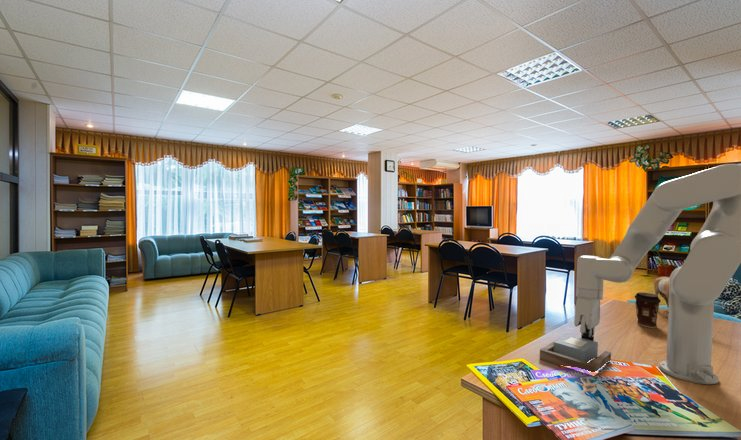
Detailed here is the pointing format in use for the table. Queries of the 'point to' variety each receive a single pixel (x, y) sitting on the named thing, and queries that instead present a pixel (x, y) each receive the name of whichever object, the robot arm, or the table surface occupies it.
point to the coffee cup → (647, 309)
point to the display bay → (558, 359)
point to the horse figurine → (662, 288)
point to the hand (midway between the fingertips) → (587, 347)
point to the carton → (576, 348)
